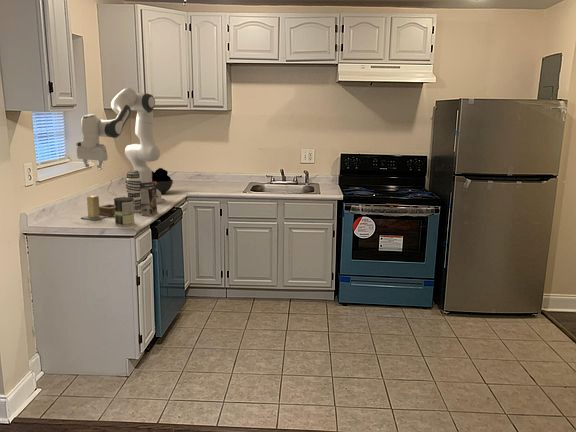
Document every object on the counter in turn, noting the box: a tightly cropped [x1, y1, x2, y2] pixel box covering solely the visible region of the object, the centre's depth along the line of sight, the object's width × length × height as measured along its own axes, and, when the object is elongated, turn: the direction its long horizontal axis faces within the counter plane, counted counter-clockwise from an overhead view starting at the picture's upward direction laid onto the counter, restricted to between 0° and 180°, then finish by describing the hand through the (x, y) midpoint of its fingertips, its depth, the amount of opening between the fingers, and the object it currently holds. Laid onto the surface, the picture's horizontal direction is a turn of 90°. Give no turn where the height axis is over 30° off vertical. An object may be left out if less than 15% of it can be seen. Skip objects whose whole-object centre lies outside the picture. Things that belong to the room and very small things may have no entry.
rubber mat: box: [80, 215, 108, 222], centre depth 292 cm, size 10×10×1 cm
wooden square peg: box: [86, 195, 100, 218], centre depth 291 cm, size 4×4×12 cm
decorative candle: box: [125, 169, 141, 213], centre depth 312 cm, size 9×9×25 cm
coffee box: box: [140, 187, 158, 217], centre depth 303 cm, size 9×6×16 cm
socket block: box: [99, 203, 115, 218], centre depth 302 cm, size 11×11×5 cm
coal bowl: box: [152, 167, 174, 194], centre depth 377 cm, size 20×20×19 cm
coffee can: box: [113, 196, 136, 227], centre depth 277 cm, size 10×10×14 cm
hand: (93, 167), depth 292 cm, fingers open, 8 cm apart
